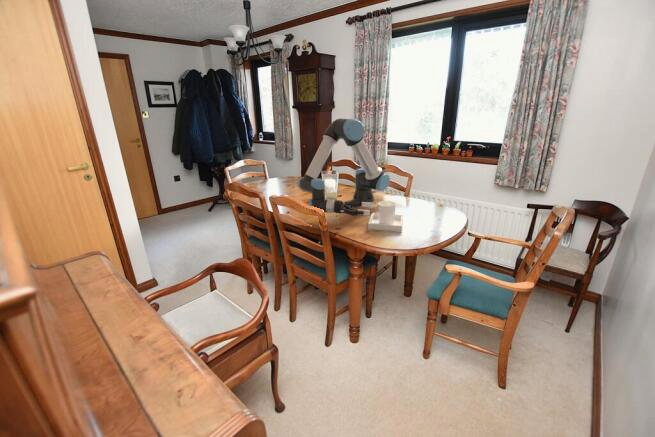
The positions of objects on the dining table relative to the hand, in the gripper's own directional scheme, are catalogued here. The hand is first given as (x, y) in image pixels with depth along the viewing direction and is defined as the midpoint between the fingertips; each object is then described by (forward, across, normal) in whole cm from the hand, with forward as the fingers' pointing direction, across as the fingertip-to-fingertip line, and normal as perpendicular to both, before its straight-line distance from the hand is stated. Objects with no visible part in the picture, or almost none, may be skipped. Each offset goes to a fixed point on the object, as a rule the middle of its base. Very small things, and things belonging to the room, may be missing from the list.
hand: (371, 208), depth 174 cm
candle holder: (+8, 0, -9) cm, 12 cm away
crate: (+8, 0, -10) cm, 13 cm away
